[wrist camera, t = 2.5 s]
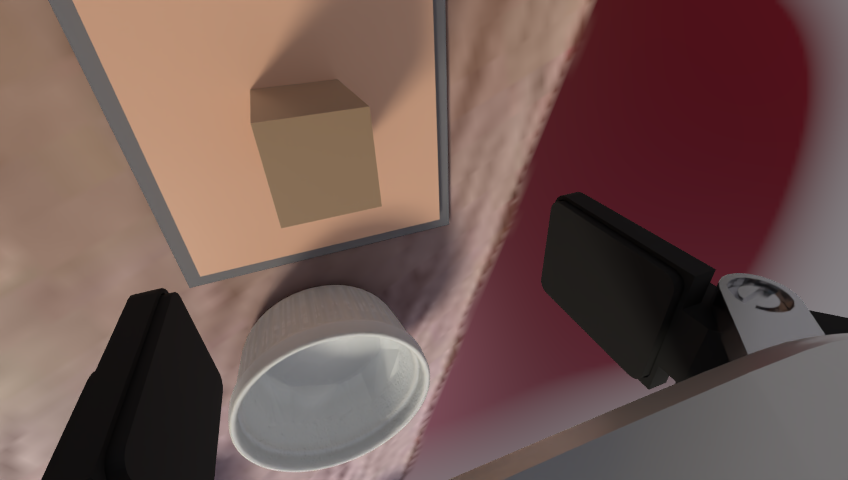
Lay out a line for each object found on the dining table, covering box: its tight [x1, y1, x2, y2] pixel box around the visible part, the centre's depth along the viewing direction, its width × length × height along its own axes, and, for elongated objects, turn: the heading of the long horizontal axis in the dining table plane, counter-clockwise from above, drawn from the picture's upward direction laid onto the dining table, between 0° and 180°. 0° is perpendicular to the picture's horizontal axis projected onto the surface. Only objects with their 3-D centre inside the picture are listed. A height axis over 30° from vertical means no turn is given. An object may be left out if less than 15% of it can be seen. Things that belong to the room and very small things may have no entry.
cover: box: [72, 0, 440, 277], centre depth 19 cm, size 16×16×8 cm
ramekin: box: [229, 285, 430, 472], centre depth 28 cm, size 13×13×7 cm
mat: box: [48, 0, 449, 288], centre depth 22 cm, size 18×18×1 cm
